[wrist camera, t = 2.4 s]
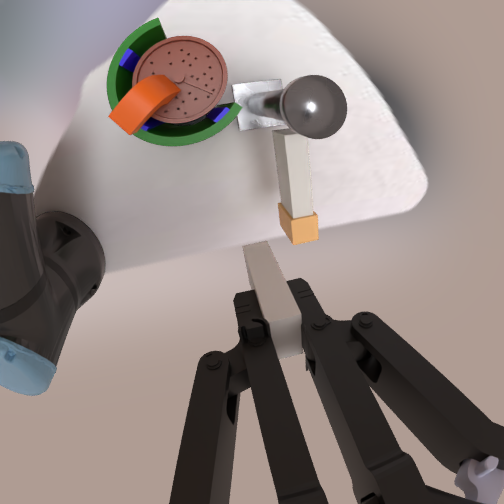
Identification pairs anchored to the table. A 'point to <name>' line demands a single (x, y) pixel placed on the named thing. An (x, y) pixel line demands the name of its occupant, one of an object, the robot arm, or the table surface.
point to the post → (292, 105)
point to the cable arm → (295, 187)
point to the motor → (168, 87)
